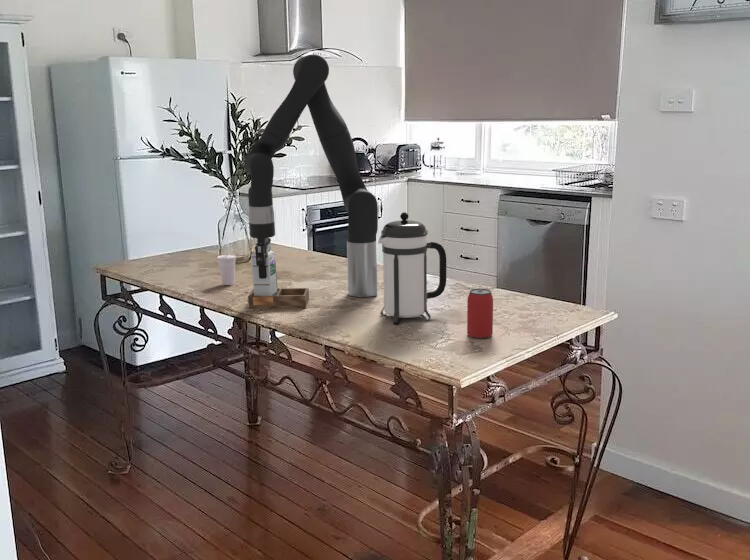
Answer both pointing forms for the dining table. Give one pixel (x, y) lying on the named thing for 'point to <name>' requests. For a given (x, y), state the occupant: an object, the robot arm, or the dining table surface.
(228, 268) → the smoothie
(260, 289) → the syrup box
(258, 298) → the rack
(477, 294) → the beer can
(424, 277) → the coffee press
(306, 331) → the dining table surface
